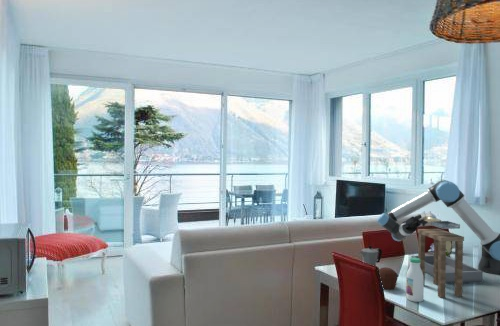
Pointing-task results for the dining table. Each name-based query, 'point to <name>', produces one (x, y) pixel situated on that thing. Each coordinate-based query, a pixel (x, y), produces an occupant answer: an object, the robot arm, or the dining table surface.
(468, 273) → the tray
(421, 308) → the dining table surface
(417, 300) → the milk bottle
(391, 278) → the muffin
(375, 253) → the coffeepot
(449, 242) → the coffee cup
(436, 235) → the stool
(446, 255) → the passion flower
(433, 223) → the hand shovel
